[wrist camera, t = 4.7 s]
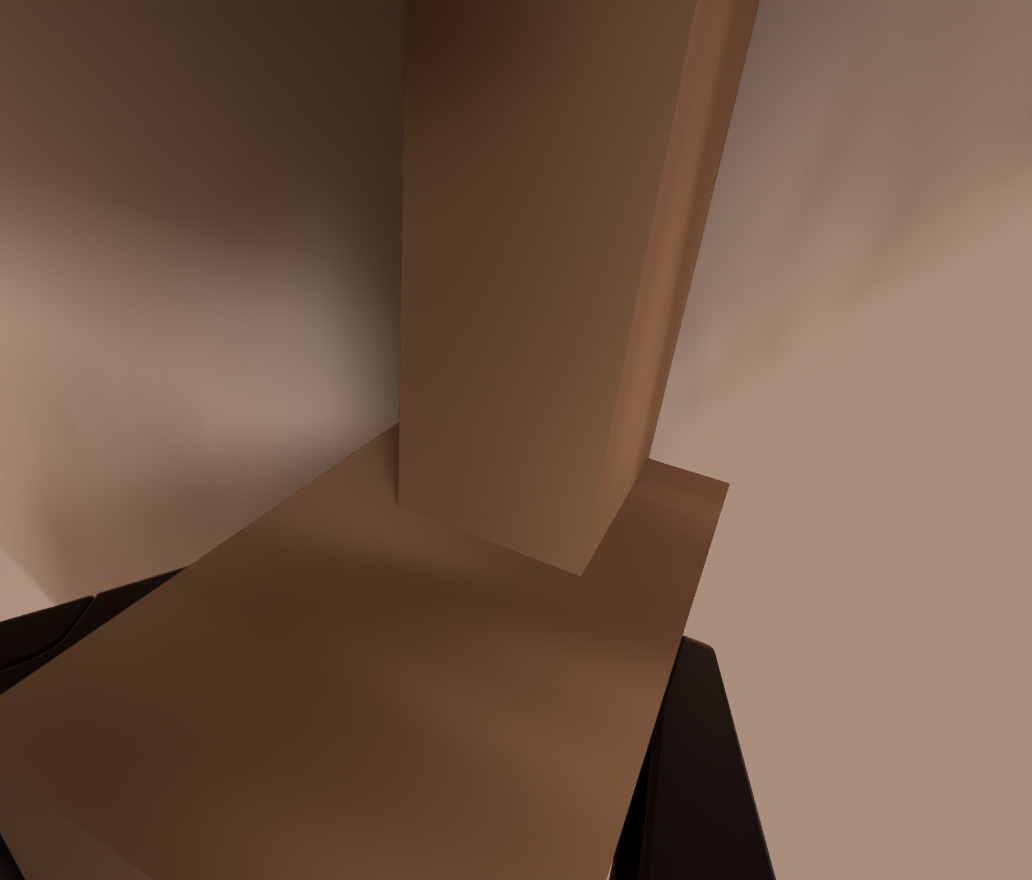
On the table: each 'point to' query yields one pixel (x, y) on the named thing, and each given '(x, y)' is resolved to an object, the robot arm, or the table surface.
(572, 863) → the pusher tool
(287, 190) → the table surface
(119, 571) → the table surface
